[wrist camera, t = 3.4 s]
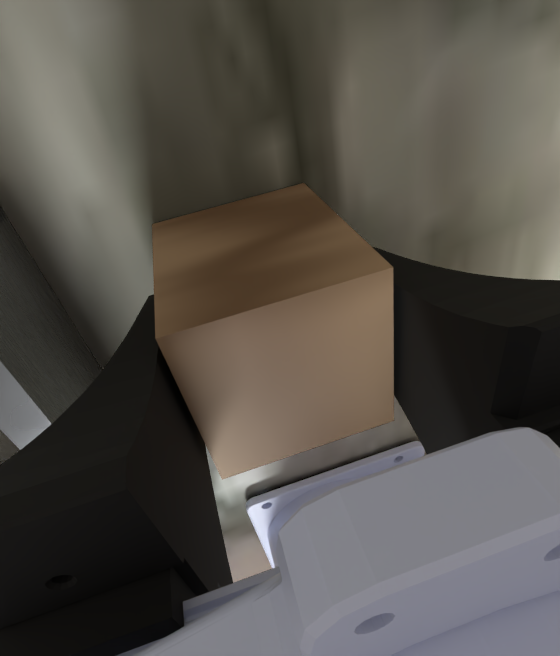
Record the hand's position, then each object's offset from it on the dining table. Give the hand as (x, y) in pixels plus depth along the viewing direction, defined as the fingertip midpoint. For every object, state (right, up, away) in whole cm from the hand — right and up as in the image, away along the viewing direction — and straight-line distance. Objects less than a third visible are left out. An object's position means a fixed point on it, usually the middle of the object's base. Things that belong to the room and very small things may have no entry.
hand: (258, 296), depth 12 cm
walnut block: (0, +1, +1) cm, 2 cm away
